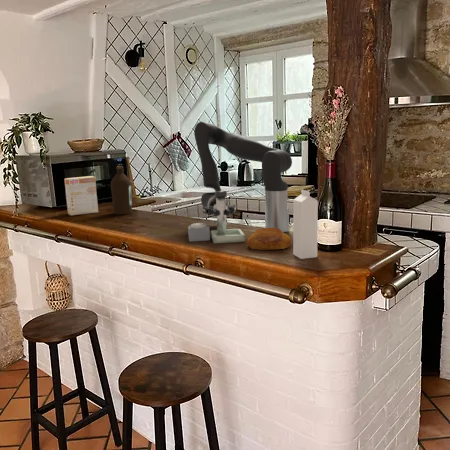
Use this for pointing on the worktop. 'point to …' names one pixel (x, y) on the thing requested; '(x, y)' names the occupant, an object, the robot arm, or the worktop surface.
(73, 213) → the coffeecake box
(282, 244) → the bread loaf
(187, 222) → the worktop surface
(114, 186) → the olive oil
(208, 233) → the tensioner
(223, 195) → the lock pin
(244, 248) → the worktop surface
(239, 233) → the tray
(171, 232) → the worktop surface
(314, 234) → the milk
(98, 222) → the worktop surface
